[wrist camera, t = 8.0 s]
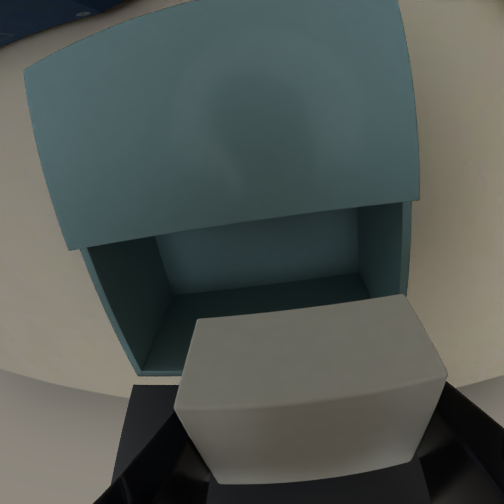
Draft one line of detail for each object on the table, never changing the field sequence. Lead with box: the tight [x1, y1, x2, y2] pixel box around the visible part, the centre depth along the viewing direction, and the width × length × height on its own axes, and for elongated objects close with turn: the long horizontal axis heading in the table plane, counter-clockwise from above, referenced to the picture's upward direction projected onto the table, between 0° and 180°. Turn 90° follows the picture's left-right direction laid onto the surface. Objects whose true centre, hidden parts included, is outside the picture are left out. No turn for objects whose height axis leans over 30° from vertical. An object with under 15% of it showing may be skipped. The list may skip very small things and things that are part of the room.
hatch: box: [111, 385, 431, 504], centre depth 11 cm, size 7×13×1 cm
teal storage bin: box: [23, 0, 420, 376], centre depth 14 cm, size 15×13×8 cm
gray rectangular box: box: [174, 294, 448, 484], centre depth 8 cm, size 4×6×3 cm
